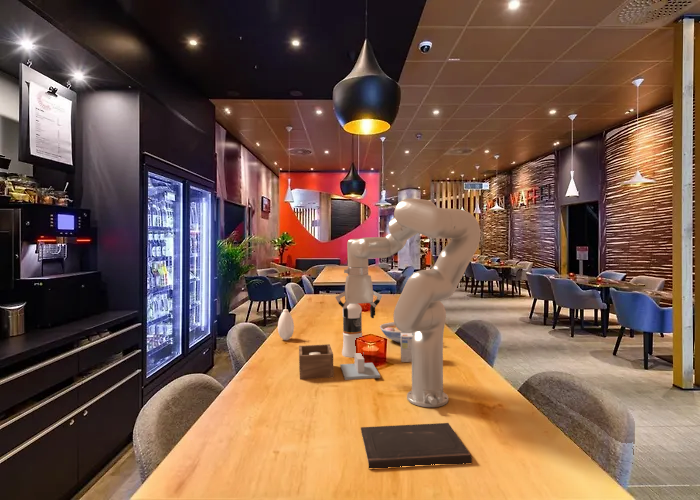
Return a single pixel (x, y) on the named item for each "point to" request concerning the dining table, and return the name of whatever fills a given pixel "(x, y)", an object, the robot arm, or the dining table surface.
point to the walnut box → (315, 361)
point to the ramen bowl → (391, 331)
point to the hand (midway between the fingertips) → (359, 318)
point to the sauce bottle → (285, 325)
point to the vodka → (351, 329)
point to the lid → (359, 369)
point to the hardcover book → (413, 445)
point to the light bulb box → (406, 347)
